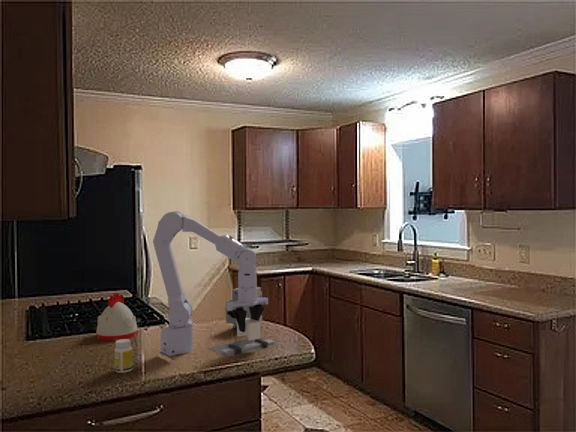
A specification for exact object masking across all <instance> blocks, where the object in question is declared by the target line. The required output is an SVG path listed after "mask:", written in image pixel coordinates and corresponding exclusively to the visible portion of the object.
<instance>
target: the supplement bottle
mask: <svg viewBox="0 0 576 432" xmlns="http://www.w3.org/2000/svg"><path fill="white" fill-rule="evenodd" d="M131 345H132V344H131V339H130V338H128V339H121V340H115V348H114V372H116V373H118V374H119V373H120V374H124V373H129V372H131V371H132V370H133V367H134V366H133V347H132V346H131Z"/></svg>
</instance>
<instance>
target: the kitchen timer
mask: <svg viewBox="0 0 576 432" xmlns="http://www.w3.org/2000/svg"><path fill="white" fill-rule="evenodd" d="M122 296H123V295H120V293H119V292H116V293H113V295H110V296H109V297H110V298H109V299H107V303H108V306H106V307H105V308H104V310H103V311H102V313H101V315H99V316H98V317H97V326H96V334H95V335H96V336H97V337H96V339H97V338H98V339H97V340H99V339H102V340H101V341H106V340H114V341H117V340H121V339H131V338H135V337H136V336H138V332H139V331H138V325H137V322H136V320H137V319H136V316H135V315H134V314H133V312H132V311H131V309H130V308H129V307H128V306H127V305H126V304H124V303H125V302H124V301H125V298H124V297H122Z"/></svg>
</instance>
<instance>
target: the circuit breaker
mask: <svg viewBox="0 0 576 432" xmlns="http://www.w3.org/2000/svg"><path fill="white" fill-rule="evenodd" d="M261 289H262V287H260V286H257V298H263V292H262V290H261ZM235 301H239V294H238V287H237V288H233V289H232V299H230V300H228V301H225V305H226V304H228V303H232V302H235ZM224 308H225V309H224V310H225V323H226V324H233V325H232V328H233V329H237V320H236V318H235V316H234V314H233V312H232V311H229V310H227V307H226V306H225V307H224ZM243 309H244V310H245V311H247V314H246V318H250V319H251V315H250V310H249V307H246V308H243ZM259 321H260V329H262V328H263V326H262V324H263V315H262V314H261V316H260V319H259Z"/></svg>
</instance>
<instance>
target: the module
mask: <svg viewBox="0 0 576 432" xmlns="http://www.w3.org/2000/svg"><path fill="white" fill-rule="evenodd" d="M260 323H261V321H257V320H253V319H250V318H246V319H245V332H241V331H239V326H238V323H237V327H236V336H237V337H243V336H247V339H248V340H255V339H259V338H261V328H260Z"/></svg>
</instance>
